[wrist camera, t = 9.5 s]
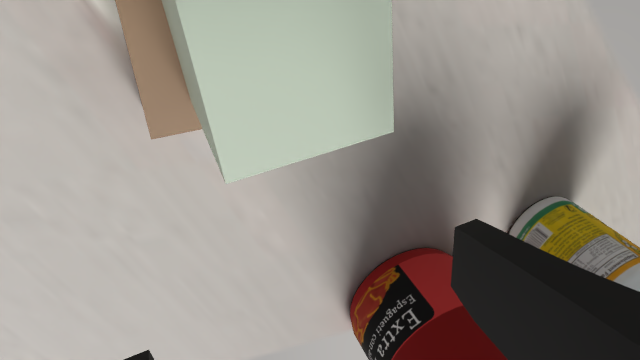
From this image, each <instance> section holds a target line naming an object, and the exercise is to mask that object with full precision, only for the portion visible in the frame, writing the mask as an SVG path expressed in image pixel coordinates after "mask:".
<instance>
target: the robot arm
mask: <svg viewBox="0 0 640 360" xmlns="http://www.w3.org/2000/svg"><path fill="white" fill-rule="evenodd" d="M451 287H452V289H453V290H454V292H455V293H456V295H457V296H458V298H459V299H460V301H461V303H462V304H463V306H464V307H465V308H466V310H467V311H468V313H469V314H470V315H471V317H472V318H473V320H474V321H475V322H476V324H477V325H478V326H479V327H480V328H481V329H482V331H483V332H484V333H485V334H486V335H487V336H488V338H489V339H490V340H491V341H492V342H493V343H494V344H495V346H496V347H497V348H498V349H499V350H500V351H501V352H502V354H503V355H504V356H505V357H506V358H507V359H508V360H640V292H639V291H637V290H634V289H631V288H629V287H626V286H624V285H621V284H619V283H616V282H614V281H611V280H609V279H606V278H604V277H602V276H599V275H597V274H594V273H592V272H590V271H587V270H585V269H583V268H580V267H578V266H576V265H574V264H571V263H569V262H567V261H565V260H563V259H560V258H558V257H556V256H554V255H552V254H550V253H547V252H545V251H543V250H541V249H539V248H537V247H535V246H533V245H531V244H528V243H526V242H524V241H522V240H520V239H518V238H516V237H514V236H512V235H510V234H508V233H506V232H503V231H501V230H499V229H497V228H495V227H493V226H491V225H489V224H487V223H484V222H482V221H480V220H478V219H475V220H472V221H470V222H467V223H465V224H462V225H460V226H457V227H455V232H454V246H453V260H452V274H451ZM124 360H154V358H153V356H152V355H151V353H150V351H149V350H147V351H144V352H142V353H139V354H137V355H134V356H132V357H129V358H127V359H124Z"/></svg>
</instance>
